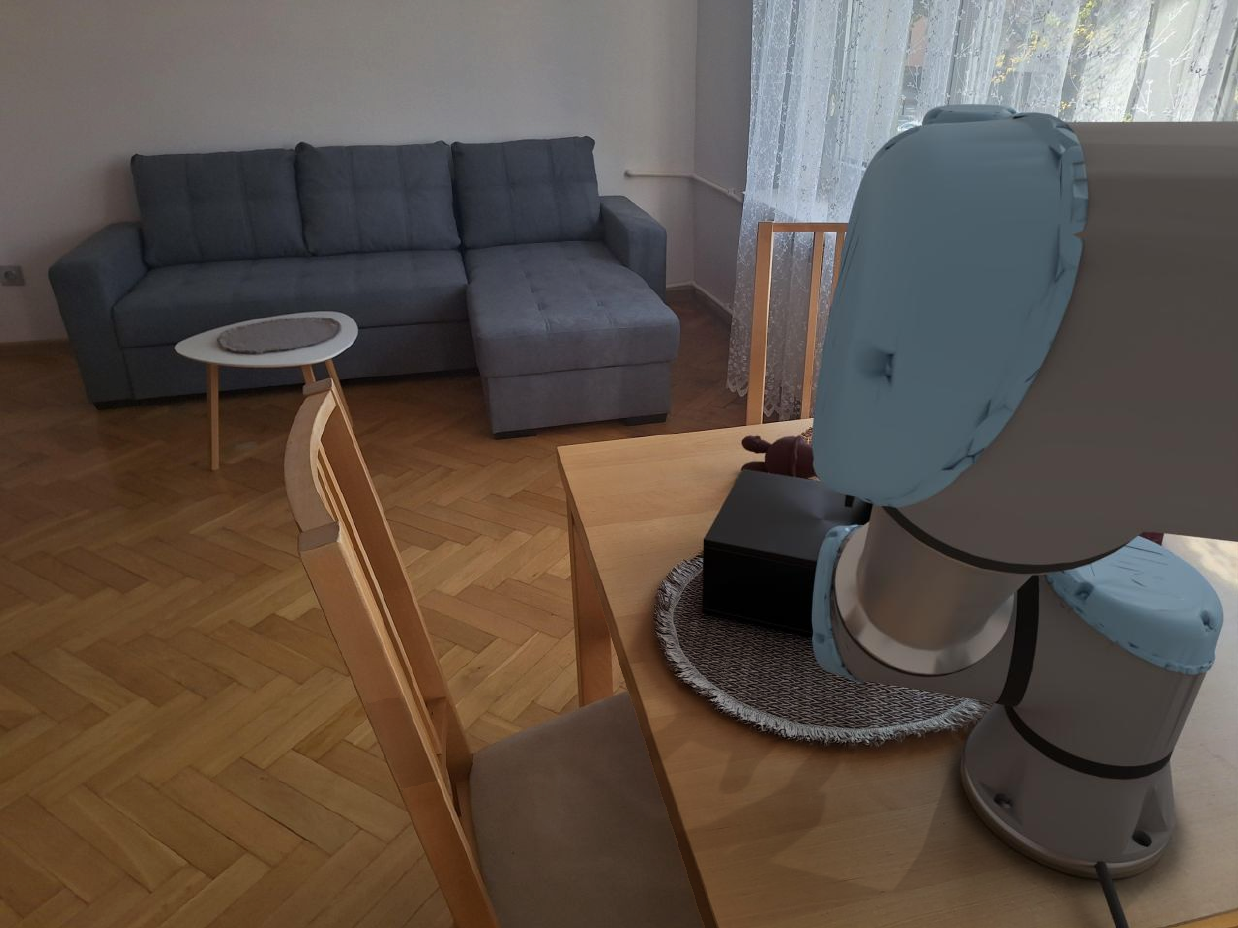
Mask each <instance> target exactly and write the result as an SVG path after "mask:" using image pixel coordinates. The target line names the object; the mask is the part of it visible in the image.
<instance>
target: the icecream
mask: <svg viewBox="0 0 1238 928" xmlns="http://www.w3.org/2000/svg"><path fill="white" fill-rule="evenodd" d="M740 445H741V446H742V448H743V449H744V450H745V451H747V452H750V453H754V454H757V455H758V454H761V455H763V454H764V461H758V460H757V461H756V460H752V461H748V462H746V463H744V464H743V465H742V466H741V468H740V472H741V471H742V469H747V470H753V471H759V472H766V473H772V474H778V475H784V476H790V477H796V478H803V479H808V478H812V477H817V475H816V473H815V470H814V467H813V461H814V457H813V450H812V444H810V443H807V442H805V441H804V438H803V436H801V435H800V434H797V435H796V436H795V435H787V436H782V437H780V438H777V439H776V440H775V441H773V442H772V443H770V442H769V441H767V440H765V439H762V437H761V436H760V435H751V434H750V435H746V436H744V437H743V438H742V439H741V442H740Z"/></svg>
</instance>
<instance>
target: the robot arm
mask: <svg viewBox="0 0 1238 928" xmlns="http://www.w3.org/2000/svg"><path fill="white" fill-rule="evenodd" d="M816 385H817V387H816V395H815V402H814V403H815V404H814V413H813V419H812V434H811V445H812V450H813V457H814V461H813V467H814V470H815V473H816V477H817V479H819V481H821V482H822V483H823V484H824V485H825V486H826V487H828V488H830V489H832V490H833V491H835V492H838V493H842V494H846V497H845V506H844V507H850V508H852V506H853V503H854V499H855V496H856V497H859V498H860V499H862V500H863V501H865V502H868V503H872V504H873V507H872V512H871V516H870V521H869V522H868V523H866V524H865V525H864V526H863V525H857V524H856V525H850V526H836V527H833V528H832V529H830V530H829V531H828V533H827V534H826V536H825V539H824V540H823V543H822V546H821V549H820V553H819V557H818V562H817V568H816V575H815V582H814V592H813V605H812V627H813V637H812V638H811V641H812V650H813V654H814V658H815V660H816V662H817V664H818V666H819V667H820V668H821V669H823V670H824V671H825V672H827V673H829V674H832V675H837V676H841V677H845V678H847V679H848V680H850V681H852V682H857V683H858V682H859V683H863V682H869V683H875V684H881V685H885V686H886V685H888V686H893V687H898V688H904V689H911V690H916V691H923V692H928V693H934V694H940V695H946V696H951V697H956V698H963V699H970V700H973V701H979V702H987V703H992V704H993V706H992V707H991V708H990V709H989V710H988V711H987V712H986V713H985V715H984V716H983V717H982V718H981V719H980V720H979V721H978V723H977V724H975V726H974V728H973V729H972V730H971V731H970V733H969V734H968V737H967V738H966V741H965V743H964V748H963V753H962V756H961V761H960V777H961V778H960V779H961V784H962V786H963V790H964V793H965V795H966V797H967V799H968V801H969V803H970V805H971V806H972V808H973V809H974V811H975V812H976V814H977V815H978V817H979V818H980V819H981V820H982V822H983V823H984V824H985V825H986V826H987V827H988V828H989V829H990V830H991V831H992V833H994V834H995V835H996V836H997V837H999V838H1000V839H1001V840H1002V841H1003V842H1004V843H1006V845H1009V847H1011V848H1012V849H1014V850H1016V851H1017V852H1019V853H1021V854H1022V855H1024V856H1025V857H1027V858H1029V859H1030V860H1032V861H1034V862H1036V863H1039V864H1041V865H1043V866H1046V867H1047V868H1050V869H1053V870H1055V871H1058V872H1062V873H1065V874H1069V875H1072V876H1075V877H1076V876H1077V877H1081V878H1088V879H1095V880H1096V879H1097V880H1099V883H1100V885H1101V888H1102V892H1103V894H1104V897H1105V899H1106V904H1107V906H1108V909H1109V913H1110V914H1111V918H1112V920H1113V924H1114V926H1115V928H1130V926H1129V923H1128V921H1127V918H1126V915H1125V912H1124V909H1123V907H1122V904H1121V901H1120V898H1119V895H1118V893H1117V890H1116V887H1115V885H1114V882H1113V880H1114V879H1123V878H1129V877H1132V876H1136V875H1138V874H1141V873H1143V872H1145V871H1147V870H1148V869H1150V868H1152V867H1153V866H1154V865H1155V864H1156V863H1157V862H1158V861H1159V860H1160V858H1161V857H1162V856H1163V855H1164V853H1165V852H1166V849H1167V847H1168V845H1169V842H1170V840H1171V837H1172V835H1173V832H1174V830H1175V824H1176V810H1175V809H1176V807H1175V798H1174V788H1173V787H1174V786H1173V777H1172V768H1171V758H1172V755H1173V753H1174V750H1175V748H1176V745H1177V743H1178V741H1179V739H1180V736H1181V734H1182V732H1183V730H1184V727H1185V725H1186V722H1187V720H1188V718H1189V715H1190V714H1191V710H1192V708H1193V705H1194V704H1195V701H1196V699H1197V696H1198V694H1199V691H1200V690H1201V687H1202V685H1203V682H1204V680H1205V677H1206V675H1207V672H1208V671H1210V670H1211V669H1212V668H1213V666H1214V664H1215V661H1216V649H1217V644H1218V642H1219V637H1220V636H1221V635H1220V634H1221V631H1222V629H1223V624H1224V609H1223V604H1222V602H1221V599H1220V597H1219V595H1218V593H1217V592H1216V590H1215V588H1214V587H1213V586H1212V584H1211V583H1210V582H1209V580H1208V579H1207V578H1206V577H1205V576H1204V575H1203V574H1202V573H1201V572H1200V571H1199V570H1198V569H1197V568H1196V567H1194V566H1193V565H1191V563H1189V562H1188V561H1187V560H1185V559H1184V558H1182V557H1180V556H1178V555H1177V554H1175V553H1173V552H1172V551H1170V550H1169V549H1167V548H1166V547H1164V546H1163V545H1162V546H1160V545H1158V544H1156V543H1154V542H1152V541H1150V540H1147V539H1145V538H1142V537H1140V536H1139V535H1140V534H1142V533H1143V532H1156V533H1164V535H1165V534H1166V535H1173V536H1181V537H1182V536H1184V537H1191V538H1199V539H1209V540H1217V541H1225V542H1232V543H1233V542H1234V543H1238V120H1237V121H1235V120H1233V121H1231V120H1227V121H1226V120H1225V121H1224V120H1222V121H1221V120H1220V121H1219V120H1216V121H1215V120H1214V121H1210V120H1209V121H1207V120H1206V121H1203V120H1202V121H1064V120H1063V119H1061V118H1059V117H1057V116H1055V115H1053V114H1051V113H1044V112H1033V111H1032V112H1026V111H1025V112H1020V111H1019V110H1017V108H1014V107H1011V106H1007V105H999V104H985V103H984V104H983V103H981V104H980V103H964V104H963V103H962V104H948V105H947V104H945V105H939V106H935V107H933V108H931V109H929V110H928V111H927V112H926V113H925V114H924V116H923V117H922V121H921V125H917V126H914V127H913V126H912V127H910V128H908V129H906V130H904V131H902V132H900V133H898V134H896V135H895V136H893V137H891V138H890V139H889V140H888V141H886V142H885V143H884V144H883V145H882V146H881V148H879V150H878V151H877V152H875V154H874V156H873V157H872V158H871V160H870V161H869V163H868V165H867V167H866V169H865V171H864V173H863V175H862V178H861V179H860V183H859V186H858V189H857V192H856V195H855V198H854V202H853V205H852V208H851V212H850V216H849V219H848V223H847V228H846V232H845V235H844V240H843V244H842V248H841V253H840V260H839V270H838V277H837V281H836V283H835V287H834V291H833V294H832V298H831V304H830V308H829V312H828V318H827V324H826V329H825V333H824V340H823V347H822V354H821V363H820V368H819V373H818V378H817V384H816Z"/></svg>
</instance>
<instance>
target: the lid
mask: <svg viewBox="0 0 1238 928" xmlns="http://www.w3.org/2000/svg"><path fill="white" fill-rule="evenodd" d="M845 497H846V494H842V493H838V492H835V491H833V490H832V489H830V488H828V487H826V486H825V485H824V484H823V483H822V482H821V481H820V480H815V479H808V478H804V479H803V478H796V477H790V476H784V475H778V474H772V473H766V472H759V471H753V470H747V469H742V471H741V470H740V472H739V474H738V477H737V478H736V480H735V482H734V483H733V486H732V487H731V489H730V491H729V492H728V495H727V496H726V497H725V500H724V502H723V503H722V505H721V507H720V508H719V511H718V512H717V514H716V516H715V518H714V519H713V522H712V523H711V525H710V527H709V528H708V530H707V532H706V534H705V536H704V538H703V543H702V545H703V546H708V547H713V548H718V549H723V550H728V551H733V552H738V553H743V554H748V555H754V556H759V557H764V558H769V559H774V560H779V561H784V562H789V563H794V564H799V565H804V566H809V567H814V568H817V562H818V557H819V553H820V549H821V546H822V543H823V540H824V539H825V536H826V534H827V533H828V531H829V530H830V529H832V528H833V527H836V526H850V525H856V524H857V525H863V526H864V525H865V524H866V523H868V522H869V521H870V516H871V512H872V507H873V504H872V503H868V502H865V501H863V500H862V499H860V498H859V497H856V496H855V499H854V503H853V506H852V508H850V507H844V506H845Z"/></svg>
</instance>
